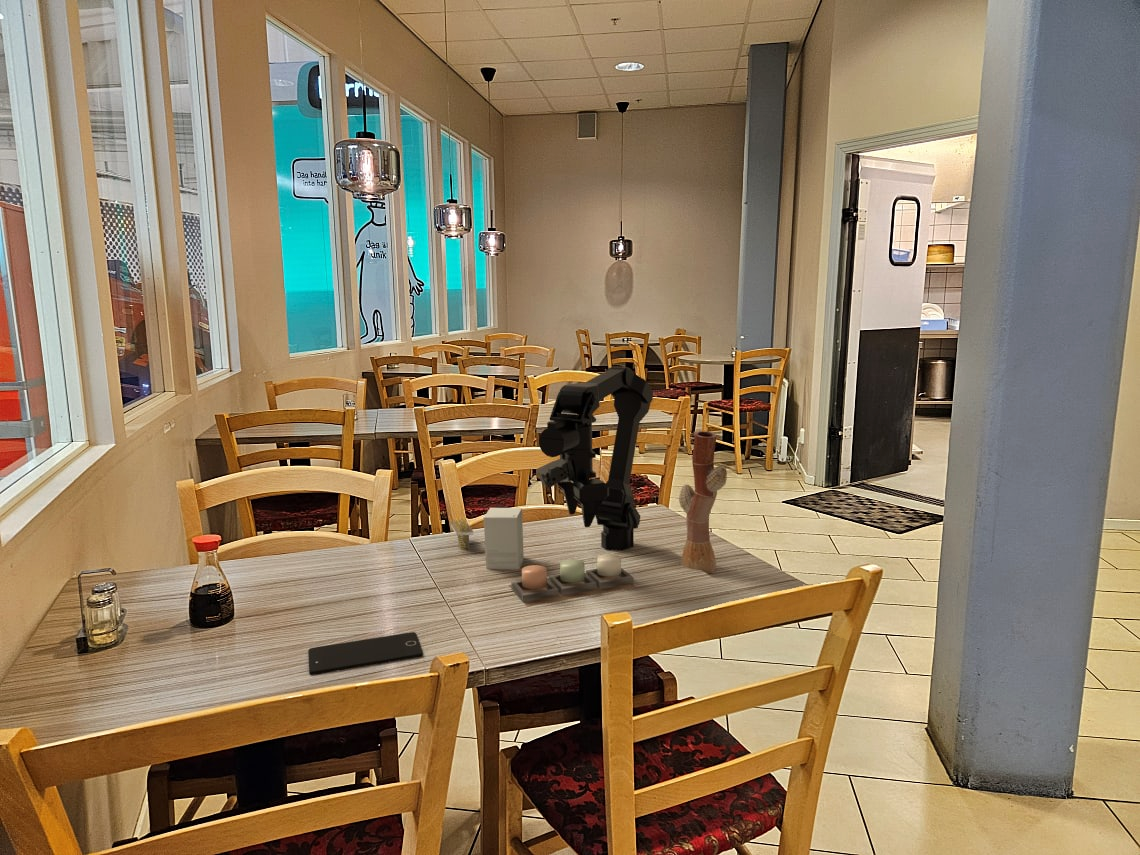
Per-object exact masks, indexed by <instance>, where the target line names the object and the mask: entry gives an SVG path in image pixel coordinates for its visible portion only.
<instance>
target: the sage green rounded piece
mask: <svg viewBox="0 0 1140 855" xmlns="http://www.w3.org/2000/svg"><path fill="white" fill-rule="evenodd" d="M585 564H586V563H585V562H584V561H582V560H580V559H565V560H562V561H561V562H560V564H559V565H560V566H559V568H560V570H559V572H560V573H559V574H560V578H561V580H562V581H564V582H568V583H576V582H581V581H583V580H584V579H585V573H586V569H585Z"/></svg>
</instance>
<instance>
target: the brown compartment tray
mask: <svg viewBox="0 0 1140 855" xmlns="http://www.w3.org/2000/svg"><path fill="white" fill-rule="evenodd" d="M508 587H509V588H511V590H512V592H514V594H515V595H516V596H517V597H518V598H519V600H520V601H521V602H522V603H523V604H524V605H525V606H526V607H531V606H537V605H542V604H548V603H554V602H559V601H561V602H562V601H565V600H566V601H568V600H572V599H577V598H583V597H589V596H594V595H595V596H596V595H601V594H606V593H612V592H617V591H624V590H631V589H636V588H638V586H636V585H635V584H634V576H633V575H632V574H630V573H629V572H628V571H626V570H625V569H623V568H622V567H621V574H620V575H618V576H613V577H606V576H601V575H599V574H598V573H597V568H592V569H585V579H584V580H583V581H581V582H576V583H568V582H564V581H562V580H561V578H560V573H559V574H554V575H549V577H548V578H547V585H546V586H545V587H543V588H540V589H528V588H525V587H523V586H522V579H521V580H516V581H511V582H510V585H508Z"/></svg>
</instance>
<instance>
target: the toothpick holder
mask: <svg viewBox="0 0 1140 855" xmlns="http://www.w3.org/2000/svg"><path fill="white" fill-rule="evenodd" d="M450 526H451V529H452V530H453V532H454V533H455V535H457V538H458V545H459V549H460V550H463V549H464V550H465V549H467V548H468V549H467V551H470V535H471V536H473V535H474V530H473V529H472V527H471V526H470V524H469V523H468V521H467V520H466V519H465V518H464V516H463V517H461V520H458V518H455V522H452V523H451V524H450Z"/></svg>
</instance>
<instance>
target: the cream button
mask: <svg viewBox="0 0 1140 855" xmlns="http://www.w3.org/2000/svg"><path fill="white" fill-rule="evenodd" d="M596 564H597V565H596V567H597V568H596V569H597V573H598V574H599V575H601V576H606V577H613V576H618V575H620V574H621V568H622V557H621V555H619V554H618V555H617V554H612V553H606V554H605V553H604V554H600V555H598V556H597V557H596Z"/></svg>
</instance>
